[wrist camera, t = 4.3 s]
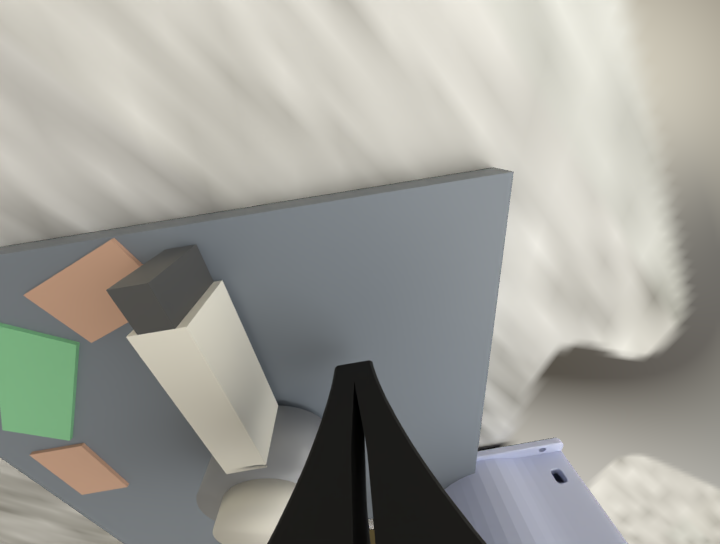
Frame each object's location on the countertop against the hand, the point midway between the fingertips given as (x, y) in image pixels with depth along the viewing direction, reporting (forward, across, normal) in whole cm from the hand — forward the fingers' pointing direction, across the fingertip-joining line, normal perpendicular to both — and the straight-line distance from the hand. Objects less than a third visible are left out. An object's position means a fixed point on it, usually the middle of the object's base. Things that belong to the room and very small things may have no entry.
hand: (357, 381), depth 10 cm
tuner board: (+3, +6, +5) cm, 8 cm away
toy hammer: (+1, +5, +1) cm, 5 cm away
